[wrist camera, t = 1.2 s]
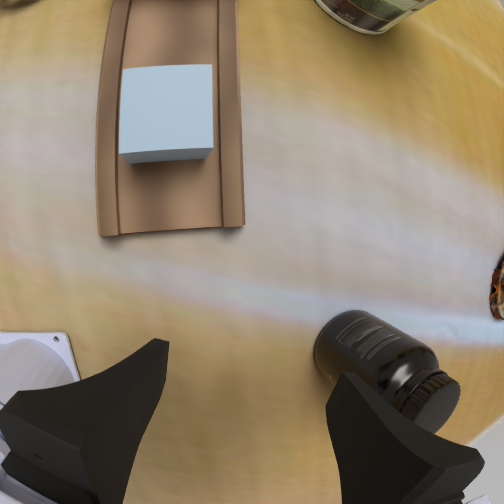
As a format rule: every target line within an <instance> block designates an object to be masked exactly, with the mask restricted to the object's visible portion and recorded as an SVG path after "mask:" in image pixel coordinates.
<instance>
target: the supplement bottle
mask: <svg viewBox="0 0 504 504" xmlns="http://www.w3.org/2000/svg"><path fill="white" fill-rule="evenodd" d="M315 361H316V364H317V367H318V368H319V370H320V371H321V373H322V374H323V375H324V376H325V377H326V378H327V380H328V381H329V382H330V383H331V384H332V385H333V386H334V387H335V385H336V383H337V381H338V379H339V376H340V374H341V372H350V373H355V374H356V375H358V376H359V377H360V378H361V379H362V380H363V381H364V382H365V383H367V384H368V385H369V386H370V387H371V388H372V389H373V390H374V391H375V392H376V393H377V394H378V395H379V396H381V397H382V398H383V399H384V400H385V401H386V402H387V403H388V404H390V405H391V406H392V407H393V408H394V409H396V410H397V411H398V412H400V413H401V414H402V415H403V416H405V417H406V418H408V419H409V420H411V421H412V422H414V423H415V424H417V425H418V426H420V427H422V428H423V429H425V430H427V431H429V432H431V433H433V434H435V433H436V432H437V431H438V430H439V429H440V428H441V427H442V426H443V425H444V424H445V423H446V421H447V420H448V419H449V417H450V416H451V414H452V413H453V411H454V409H455V407H456V405H457V403H458V400H459V397H460V391H461V389H460V385H459V383H458V382H457V381H455V380H454V379H452V378H451V377H449V376H448V375H447V373H446V372H444V371H442V370H440V369H439V363H438V359H437V357H436V355H435V353H434V351H433V350H432V349H431V348H430V347H428V346H427V345H425V344H423V343H422V342H420V341H418V340H416V339H415V338H413V337H411V336H409V335H408V334H406V333H404V332H402V331H401V330H399V329H397V328H395V327H394V326H392V325H390V324H388V323H387V322H385V321H383V320H381V319H379V318H378V317H376V316H374V315H372V314H370V313H368V312H366V311H362V310H352V311H348V312H345V313H342V314H340V315H339V316H337V317H335V318H334V319H333V320H332V321H331V322H330V323H329V324H328V325H327V326H326V327H325V328H324V330H323V331H322V333H321V334H320V336H319V338H318V341H317V344H316V348H315Z"/></svg>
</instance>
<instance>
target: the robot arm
mask: <svg viewBox="0 0 504 504" xmlns="http://www.w3.org/2000/svg"><path fill="white" fill-rule="evenodd" d="M55 336H56V337H58V338H59V341H58V340H56V338H55ZM168 351H169V342H168V341H164V340H161V339H157V338H154V339H153V340H151V341H150V342H148V343H147V344H146V345H144V346H143V347H142V348H140V349H139V350H137V351H136V352H135V353H133V354H132V355H130V356H129V357H127V358H126V359H124V360H122V361H121V362H119V363H117V364H116V365H114V366H112V367H110V368H109V369H107V370H105V371H103V372H101V373H98V374H96V375H94V376H91V377H89V378H86V379H83V380H80V377H79V373H78V370H77V367H76V363H75V360H74V356H73V353H72V349H71V345H70V341H69V337H68V335H67V334H66V333H64V332H6V331H0V504H123V499H124V495H125V491H126V487H127V484H128V480H129V476H130V473H131V469H132V466H133V462H134V459H135V456H136V453H137V449H138V446H139V444H140V441H141V439H142V436H143V434H144V432H145V430H146V428H147V426H148V424H149V421H150V419H151V417H152V415H153V413H154V411H155V409H156V406H157V404H158V402H159V400H160V397H161V394H162V391H163V387H164V384H165V381H166V372H167V361H168ZM326 417H327V425H328V430H329V434H330V437H331V441H332V445H333V449H334V453H335V456H336V460H337V464H338V469H339V474H340V483H341V494H342V504H463V503H462V501H461V500H462V499H463V498H464V497H465V496H464V493H463V490H464V489H465V488H466V487H467V486H468V485H469V484H470V483H471V482H472V481H473V480H474V479H475V478H476V477H477V476H478V474H479V473H480V472H481V470H482V469H483V467H484V463H485V462H484V459H483V458H482V456H481V455H480V453H479V452H478V450H477V449H475V448H471V447H467V446H464V445H460V444H457V443H454V442H451V441H449V440H446V439H444V438H441V437H439V436H437V435H435V434H433V433H431V432H429V431H427V430H425V429H423V428H422V427H420V426H418V425H417V424H415V423H414V422H412V421H411V420H409V419H408V418H406V417H405V416H403V415H402V414H401V413H400V412H398V411H397V410H396V409H394V408H393V407H392V406H391V405H390V404H388V403H387V402H386V401H385V400H384V399H383V398H382V397H381V396H379V395H378V394H377V393H376V392H375V391H374V390H373V389H372V388H371V387H370V386H369V385H368V384H367V383H365V382H364V381H363V380H362V379H361V378H360V377H359V376H358V375H356V374H355V373H350V372H341V374H340V376H339V379H338V381H337V383H336V385H335V387H334V389H333V392H332V394H331V396H330V398H329V400H328V402H327V404H326ZM466 504H491V502H490V500H489V499H488V497H487V495H483V496H480V497H478V498H476V499H473V500H471V501H469V502H467V503H466Z"/></svg>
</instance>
